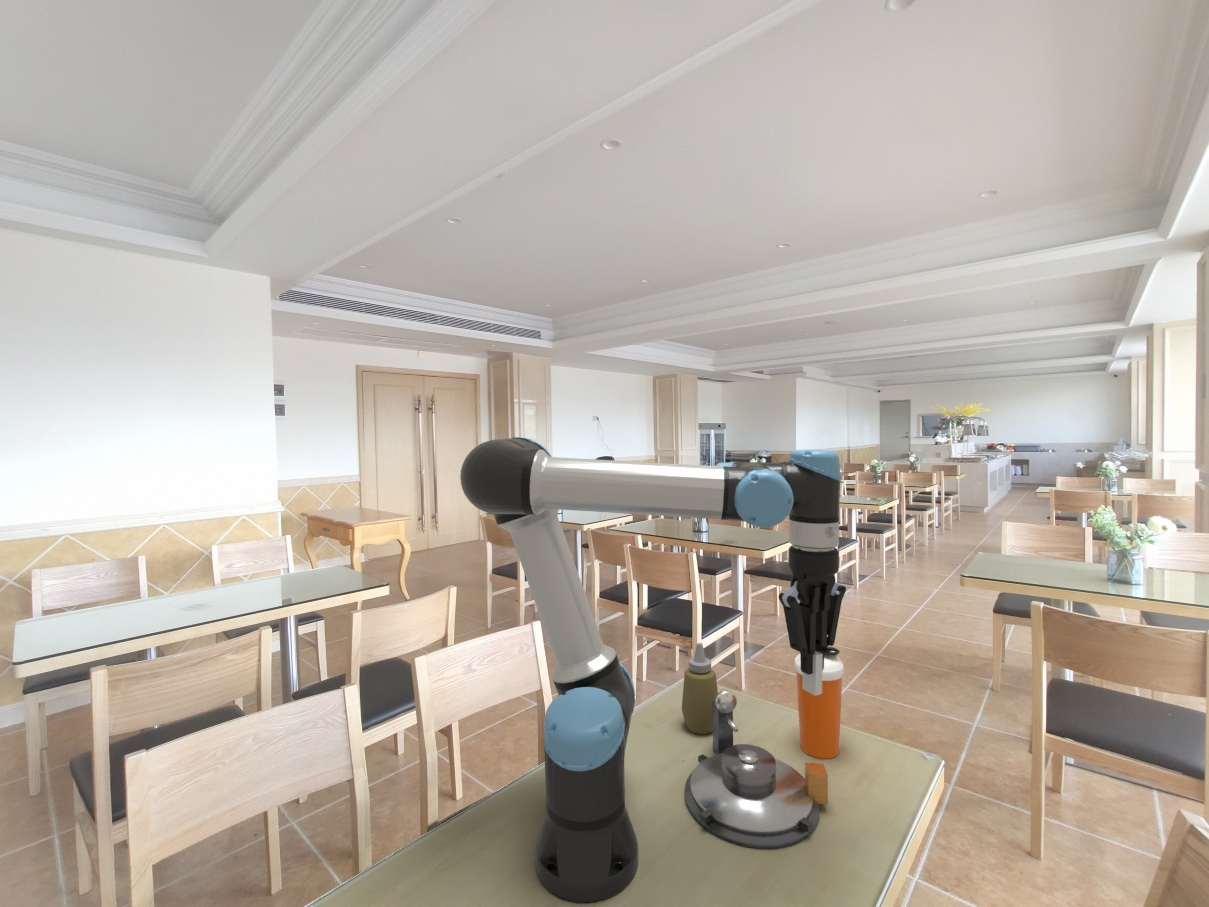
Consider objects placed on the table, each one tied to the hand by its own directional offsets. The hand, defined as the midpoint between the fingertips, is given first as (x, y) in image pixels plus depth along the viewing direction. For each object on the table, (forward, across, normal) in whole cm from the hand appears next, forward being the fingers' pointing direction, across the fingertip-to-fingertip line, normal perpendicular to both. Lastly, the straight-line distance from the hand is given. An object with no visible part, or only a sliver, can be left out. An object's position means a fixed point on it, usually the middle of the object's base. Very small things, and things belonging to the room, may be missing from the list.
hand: (812, 691), depth 89 cm
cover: (+18, -6, +9) cm, 21 cm away
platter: (+19, -5, +7) cm, 21 cm away
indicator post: (+21, -2, +18) cm, 28 cm away
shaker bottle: (+21, +16, +12) cm, 29 cm away
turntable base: (+21, -6, +8) cm, 23 cm away
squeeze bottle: (+21, +1, +30) cm, 37 cm away
